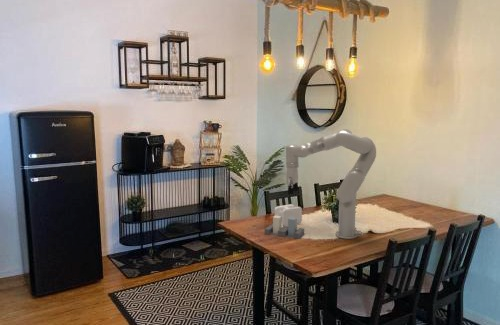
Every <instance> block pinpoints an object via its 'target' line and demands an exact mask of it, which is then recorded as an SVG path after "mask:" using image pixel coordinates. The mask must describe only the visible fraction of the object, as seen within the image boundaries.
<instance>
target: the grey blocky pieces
mask: <svg viewBox="0 0 500 325" xmlns="http://www.w3.org/2000/svg"><path fill="white" fill-rule="evenodd" d="M263 235H270V236H275V237H283V238H288V239H289V238H291V239H295V240H296V239H297V240H301V239H302V238H303V237H304V236H305V235H306V233H305V228H304V227H303V228H300V227H299V228H297V231H296V232H295V233H294V236H289V235H288V225H286V226H284V225H282V228H281V229H280V230H278V234H275V233H273V223H272V224H270V225H268V226H267V227H265V229H264V233H263Z"/></svg>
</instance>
